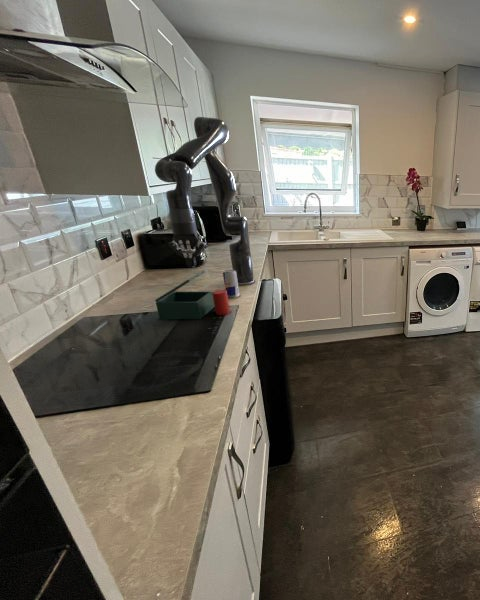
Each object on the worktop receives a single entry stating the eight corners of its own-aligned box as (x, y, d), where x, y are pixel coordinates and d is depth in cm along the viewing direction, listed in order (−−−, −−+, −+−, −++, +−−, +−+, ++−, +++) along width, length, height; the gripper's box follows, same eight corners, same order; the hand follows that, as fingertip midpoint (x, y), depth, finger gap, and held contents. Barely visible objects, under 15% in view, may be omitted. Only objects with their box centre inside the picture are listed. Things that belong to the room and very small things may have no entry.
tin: (219, 310, 132) (215, 289, 129) (231, 310, 132) (228, 289, 129) (213, 315, 127) (209, 293, 124) (227, 315, 128) (223, 293, 124)
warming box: (214, 306, 135) (212, 291, 133) (200, 319, 123) (197, 302, 121) (177, 306, 133) (174, 291, 131) (159, 319, 122) (155, 302, 119)
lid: (205, 271, 130) (204, 270, 129) (189, 281, 118) (188, 279, 118) (174, 291, 131) (173, 289, 131) (156, 302, 119) (154, 300, 119)
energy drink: (223, 296, 146) (219, 271, 142) (234, 293, 150) (230, 268, 146) (231, 299, 144) (227, 273, 140) (242, 295, 148) (238, 270, 144)
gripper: (207, 220, 120) (214, 265, 126) (169, 219, 119) (178, 264, 125) (197, 222, 113) (205, 270, 119) (157, 221, 112) (167, 269, 118)
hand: (191, 267), depth 122 cm, fingers closed
